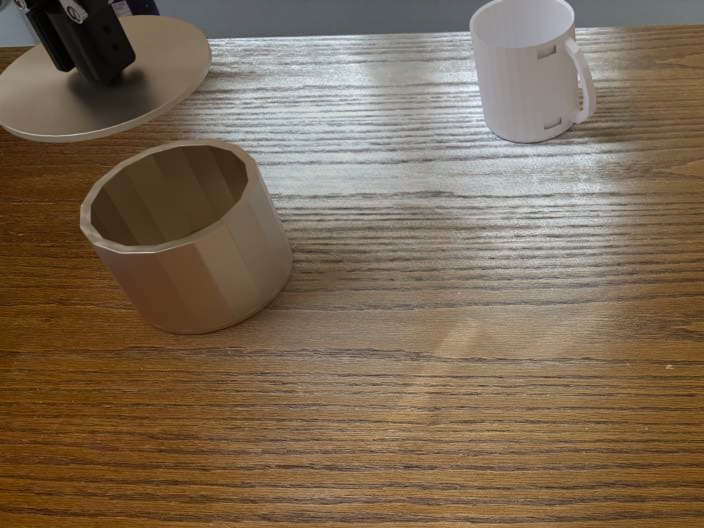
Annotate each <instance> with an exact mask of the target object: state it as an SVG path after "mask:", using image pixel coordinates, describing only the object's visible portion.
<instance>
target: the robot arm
mask: <svg viewBox="0 0 704 528" xmlns="http://www.w3.org/2000/svg"><path fill="white" fill-rule="evenodd" d="M11 1H12V3H13V4H14V5H15V6H16V7H17V8H18V9H20V10H21V11H23V12H25V13H24V15H25V16H26V18H27V20H28V22H29V24H30V25H31V27H32V29H33V30H34V32H35V34H36V36H37V37H38V39H39V41H40V42H41V43H42V44H43V46H44V48H45V49H46V51H47V53H48V55H49V56H50V58H51V60H52V62H53V63H54V65H55V67H56V68H57V70H59V71H62V72H70V71H71V70H72V69H74V68H75V65H74V63H73V62H72V60H71V58H70V56H69V54H68V53H67V51H66V49H65V47H64V45H63V44H62V42H61V40H60V38H59V36H58V35H57V33H56V31H55V29H54V27H53V26H52V24H51V22H50V20H49V18H48V16H47V15H46V13H45V11H44V7H45V6H46V4H47V3H48V2H50V1H51V0H11ZM59 1H60V2H61V4H62V6H63V8H64V9H65V11H66V13H67V14H68V16H69V17H70V18H71V19H70V20H69V21H67V22H66V23H65V24H66V26H67V28H68V30H69V32H70V34H71V36H72V37H73V39H74V41H75V43H76V45H77V47H78V48H79V50H80V52H81V54H82V56H83V58H84V60H85V61H86V63H87V65H88V67H89V69H90V71H91V73H92V74H93V76H94V78H95V79H96V80H97V81H100V82H104V83H106V82H108V81H109V80H111V79H112V78H113V77H115V76H116V75H117V74H119V73H120V72H121V71H123V70H124V69H125V68H127V67H128V66H129V65H131V64H132V63H133V62H134V61H135V60H136V54H135V52H134V50H133V48H132V46H131V44H130V42H129V40H128V38H127V36H126V33H125V31H124V29H123V27H122V25H121V23H120V21H119V19H118V17H117V15H116V13H115V11H114V9H113V7H112V5H111V3H112V2H113V1H114V0H59Z"/></svg>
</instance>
